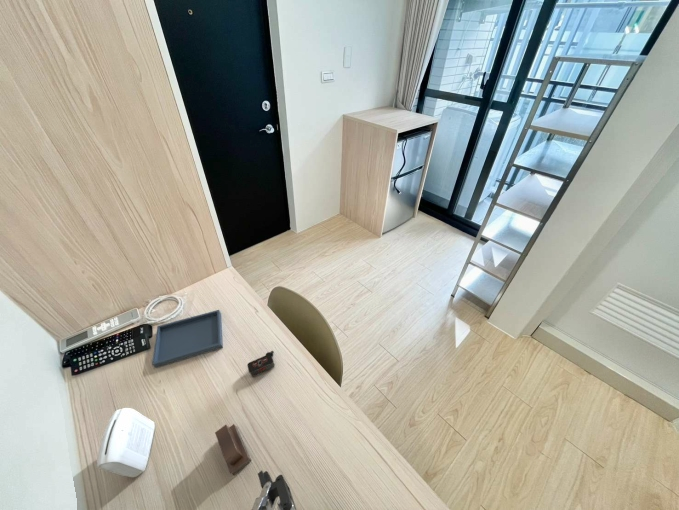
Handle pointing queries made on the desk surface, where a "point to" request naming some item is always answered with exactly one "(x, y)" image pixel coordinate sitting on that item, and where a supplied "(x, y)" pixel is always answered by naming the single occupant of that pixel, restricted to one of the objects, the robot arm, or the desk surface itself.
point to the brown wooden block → (232, 448)
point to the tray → (187, 338)
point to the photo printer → (126, 443)
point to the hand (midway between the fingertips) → (236, 498)
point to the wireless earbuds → (261, 364)
